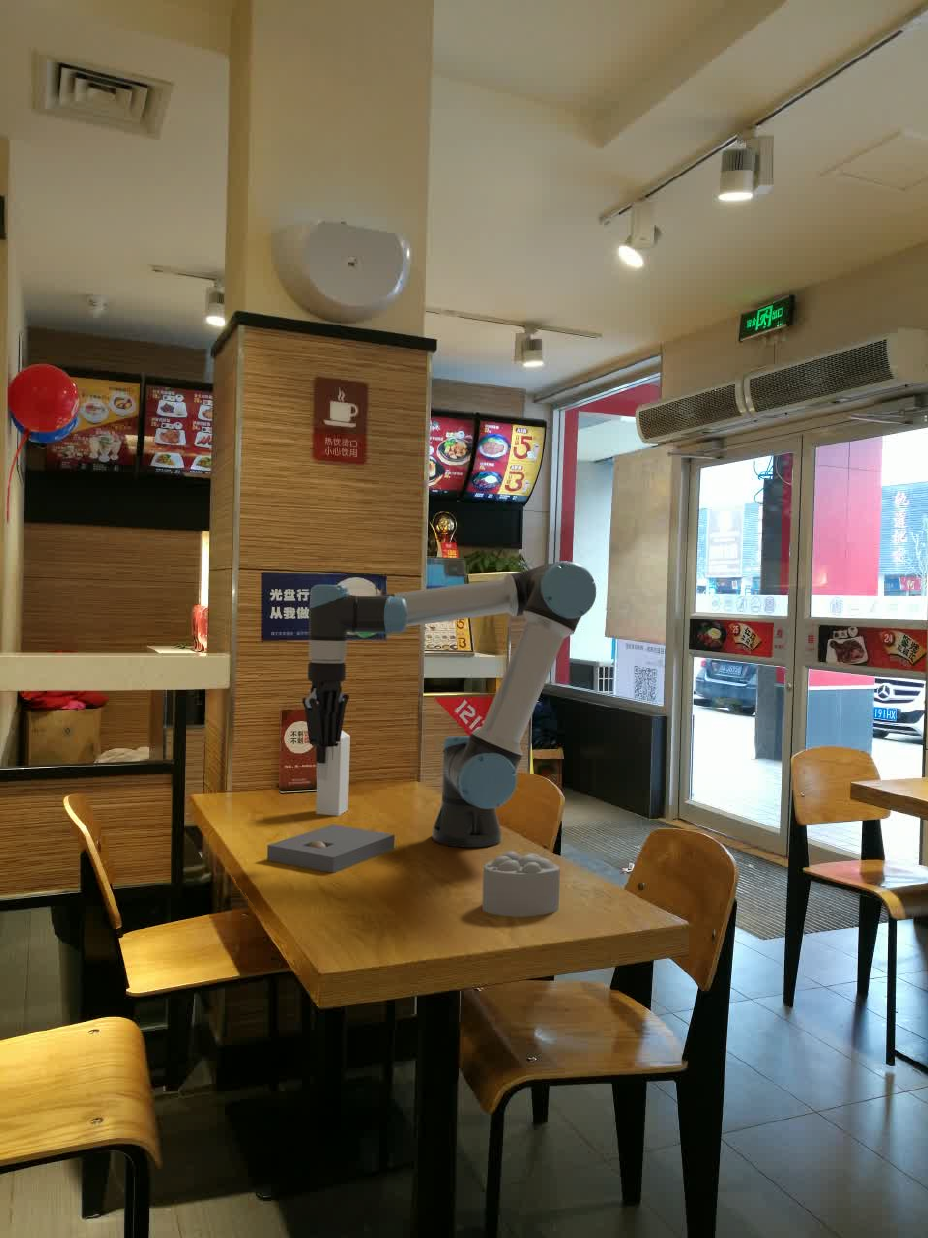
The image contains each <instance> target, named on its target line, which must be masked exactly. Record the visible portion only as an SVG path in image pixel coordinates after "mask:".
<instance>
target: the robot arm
mask: <svg viewBox="0 0 928 1238" xmlns="http://www.w3.org/2000/svg"><path fill="white" fill-rule="evenodd" d="M596 597H597V585H596V582H595V579H594V577H593V575H592V573H590V571H589V570H588V569H586V567H585V566H583V565H581V564H579V563H577V562H572V561H565V560H563V561H562V560H561V561H556V562H554V563H546V564H542V565H540V566H537V567H533V568H529V569H527V570H524V571H523V570H522V571H518V572H513V573H507V574H506V575H505V576H504V578H502V579H493V580H488V581H480V582H472V583H464V584H457V585H455V584H454V585H450V586H441V587H440V586H439V587H435V588H434V587H433V588H427V589H421V590H420V589H419V590H412V591H402V592H396V593H391V594H390V593H389V594H382V595H353V594H350V593H349V588H348V586H347V585H342V584H340V585H339V584H316V585H314V586H313V587H311V590H310V599H309V600H310V601H309V617H308V618H309V620H308V621H309V623H308V625H309V627H308V628H309V629H308V632H309V633H308V636H309V637H308V640H309V641H308V642H309V643H308V659H309V660H311V661H310V662H309V663H308V664H307V665H308V666H307V680H308V681H310V682H311V688H310V694H309V695H308V697H303V698H302V700H301V703H302V705H303V708H304V711H305V718H306V726H307V735H308V743H309V745H311V746H312V747H316V754H315V755H316V758H315V762H316V780H317V779H322V780H330V779H332V760H333V746H338V743H336V742H339V741H340V739H341V733H342V731H343V726H344V722H345V720H344V719H345V713H346V709H347V704H348V701H349V699H350V696H349V694H346V693H344V692H343V686H342V683H343V682H345V681H346V678H347V675H346V674H347V672H346V671H347V664H346V662H344V661H346V660H347V650H348V649H347V647H348V646H347V643H348V641H347V634H348V633H354V634H355V633H364V634H365V633H367V634H387V635H391V634H392V635H393V634H403V633H404V632H405V631H406V628H407V627H412V626H413V627H414V626H421V625H428V624H435V623H436V624H437V623H443V622H449V621H450V622H451V621H457V620H464V619H465V620H466V619H473V618H478V617H486V616H487V617H488V616H494V615H501V614H509V615H510V616H511V617H521V616H524V619H525V625H524V627H523V629H522V631H521V635H520V637H519V639H518V641H517V643H516V646H515V648H514V650H513V652H512V656H511V658H510V660H509V662H508V665H507V668H506V669H505V671H504V674H503V677H502V679H501V681H500V683H499V686H498V687H497V690H496V693H495V695H494V698H493V699H492V703H491V705H490V706H489V709H488V712H487V713H486V716H485V718H484V721H483V723H482V724H481V725H482V726H481V727H479V728H478V729H476V730H473V731H471V733H470V735H469V736H466V735H465V736H458V735H457V736H455V735H452V736H451V735H450V736H447V737H446V738H445V739H444V741H443V742H444V743H443V748H442V755H443V759H442V783H441V785H442V787H441V789H442V790H441V794H442V795H441V804H440V805H441V806H440V808H439V810H438V814H437V816H436V819H435V823H434V825H433V828H432V840H433V841H435V842H436V843H438V844H442V845H445V846H450V847H457V848H459V847H460V848H484V847H485V848H486V847H489V846H490V847H491V846H494V845H497V844H500V843H501V840H502V829H501V827H500V826H501V825H500V822H499V819H498V815H497V811H496V808H498V807H500V806H501V807H502V806H503V805H504V804H505V803H507V802H508V801H509V800H510V799H511V798H512V796H513V795H514V793H515V791H516V788H517V784H518V774H517V769H518V767H519V764H520V762H521V761H522V760H521V759H522V758H523V754H524V753H523V751H522V748H521V741H522V739H523V736H524V733H525V732H526V729H527V728H528V726H529V725H528V724H529V722H530V720H531V717H532V714H533V713H534V710H535V708H536V705H537V704H538V701H539V699H540V697H541V693H542V691H543V689H544V687H545V684H546V682H547V680H548V678H549V675H550V673H551V670H552V669H553V665H554V664H555V661H556V658H557V656H558V653H559V651H560V648H561V646H562V644H563V642H564V639H566V638H568V637H570V636H572V635H574V634H575V632H576V630H577V627H578V625H579V622H580V621H581V618H582V617H583V616H584V615H586V614H587V613H588V612H589V611H590V610H591V609H592V607H593V606H594V603H595V601H596Z"/></svg>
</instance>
